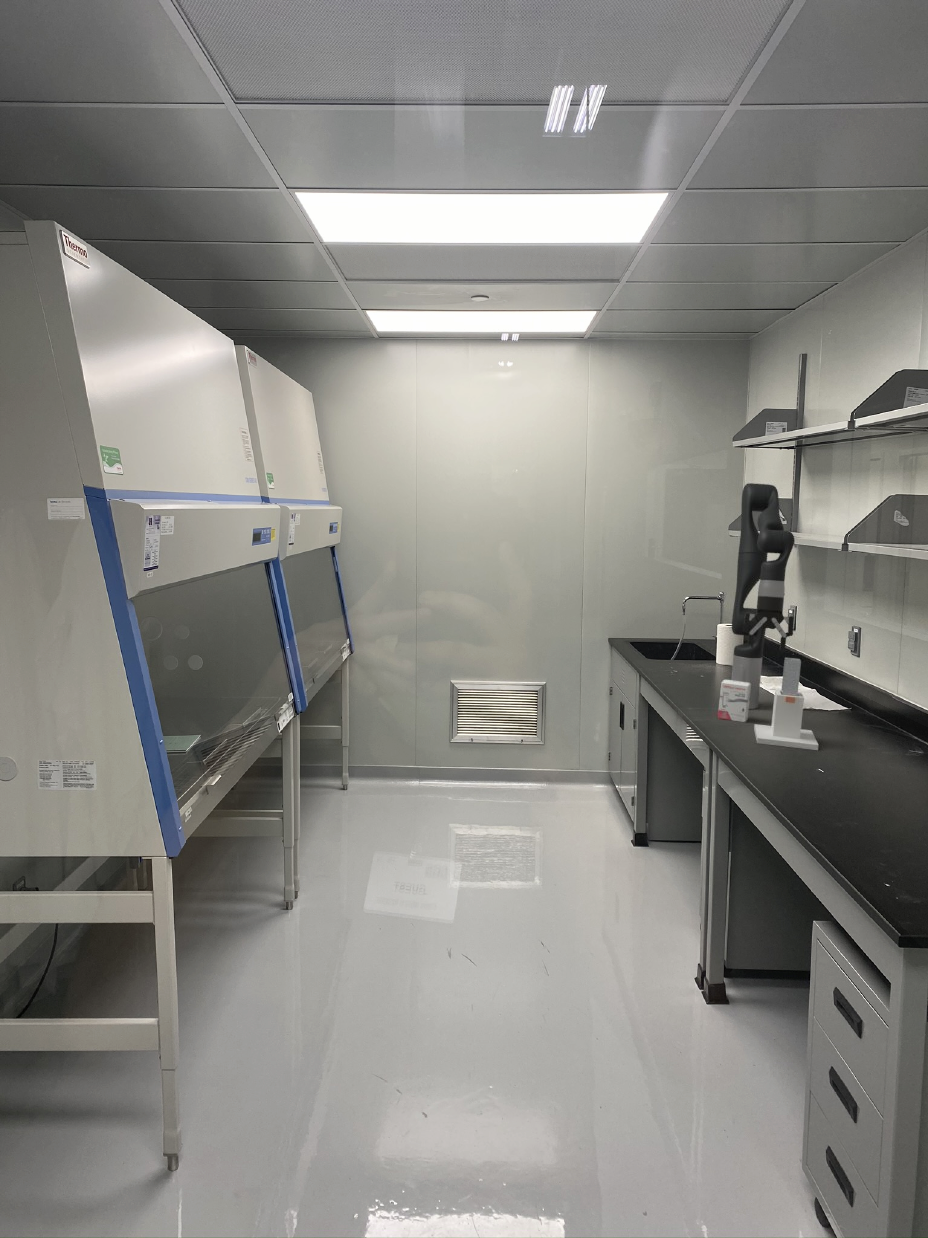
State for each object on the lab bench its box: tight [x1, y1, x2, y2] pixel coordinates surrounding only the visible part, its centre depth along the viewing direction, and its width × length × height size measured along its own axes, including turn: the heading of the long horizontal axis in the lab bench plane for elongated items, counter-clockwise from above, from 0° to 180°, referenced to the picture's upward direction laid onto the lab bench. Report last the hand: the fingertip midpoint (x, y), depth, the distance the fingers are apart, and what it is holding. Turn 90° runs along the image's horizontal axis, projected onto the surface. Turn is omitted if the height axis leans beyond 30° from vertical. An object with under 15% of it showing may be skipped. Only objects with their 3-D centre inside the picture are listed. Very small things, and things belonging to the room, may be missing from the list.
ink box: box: [717, 679, 751, 723], centre depth 256 cm, size 9×5×12 cm, turn 62°
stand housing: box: [753, 689, 819, 751], centre depth 234 cm, size 16×16×14 cm
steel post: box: [780, 657, 802, 696], centre depth 234 cm, size 4×4×22 cm
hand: (766, 648), depth 248 cm, fingers open, 8 cm apart
